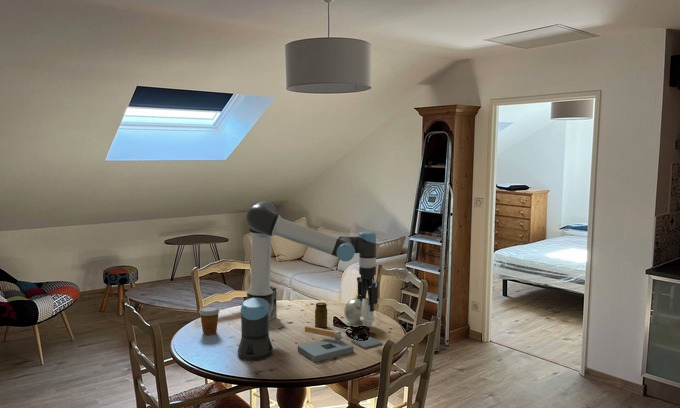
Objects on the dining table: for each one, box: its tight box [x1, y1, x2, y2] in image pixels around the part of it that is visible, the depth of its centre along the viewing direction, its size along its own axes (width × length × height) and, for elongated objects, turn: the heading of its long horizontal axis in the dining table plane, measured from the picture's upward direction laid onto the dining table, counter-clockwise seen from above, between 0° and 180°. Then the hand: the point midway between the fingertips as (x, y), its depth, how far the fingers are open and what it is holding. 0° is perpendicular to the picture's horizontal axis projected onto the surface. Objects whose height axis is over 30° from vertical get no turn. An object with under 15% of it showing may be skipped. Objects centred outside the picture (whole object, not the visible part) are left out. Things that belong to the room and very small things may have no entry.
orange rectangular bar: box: [304, 325, 342, 340], centre depth 251 cm, size 18×3×3 cm, turn 62°
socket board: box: [297, 337, 354, 363], centre depth 242 cm, size 20×14×4 cm
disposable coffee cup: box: [198, 305, 220, 336], centre depth 264 cm, size 10×10×12 cm
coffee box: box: [269, 285, 278, 321], centre depth 285 cm, size 9×6×16 cm
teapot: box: [343, 294, 362, 327], centre depth 275 cm, size 18×14×16 cm
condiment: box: [311, 301, 333, 330], centre depth 272 cm, size 7×8×12 cm
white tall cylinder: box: [360, 297, 376, 327], centre depth 250 cm, size 7×7×12 cm
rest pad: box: [351, 336, 383, 350], centre depth 252 cm, size 10×10×1 cm
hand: (367, 316), depth 251 cm, fingers closed on white tall cylinder, 4 cm apart
